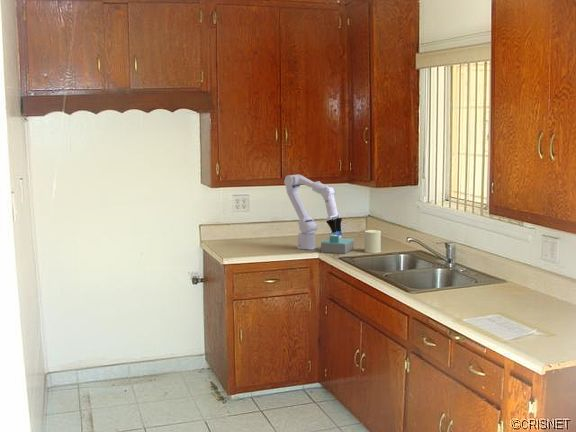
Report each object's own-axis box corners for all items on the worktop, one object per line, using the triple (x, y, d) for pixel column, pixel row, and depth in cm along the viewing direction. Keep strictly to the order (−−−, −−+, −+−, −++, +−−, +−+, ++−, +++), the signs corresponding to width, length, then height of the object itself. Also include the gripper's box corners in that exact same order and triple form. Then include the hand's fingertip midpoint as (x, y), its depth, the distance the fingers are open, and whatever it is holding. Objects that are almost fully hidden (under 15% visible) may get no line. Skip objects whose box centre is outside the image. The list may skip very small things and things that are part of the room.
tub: (321, 252, 388) (321, 242, 387) (330, 247, 403) (330, 237, 402) (345, 254, 383) (345, 243, 382) (353, 249, 397) (353, 239, 396)
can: (379, 253, 384) (379, 232, 382) (362, 252, 387) (362, 231, 385) (382, 250, 393) (382, 229, 391) (366, 249, 396) (366, 228, 394)
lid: (321, 245, 387) (321, 236, 387) (325, 242, 395) (325, 233, 394) (345, 246, 382) (345, 237, 381) (349, 244, 389) (349, 235, 389)
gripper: (333, 207, 379) (339, 231, 378) (342, 206, 392) (347, 229, 391) (322, 209, 381) (327, 233, 381) (330, 208, 395) (335, 231, 394)
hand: (336, 231), depth 386 cm, fingers open, 7 cm apart
